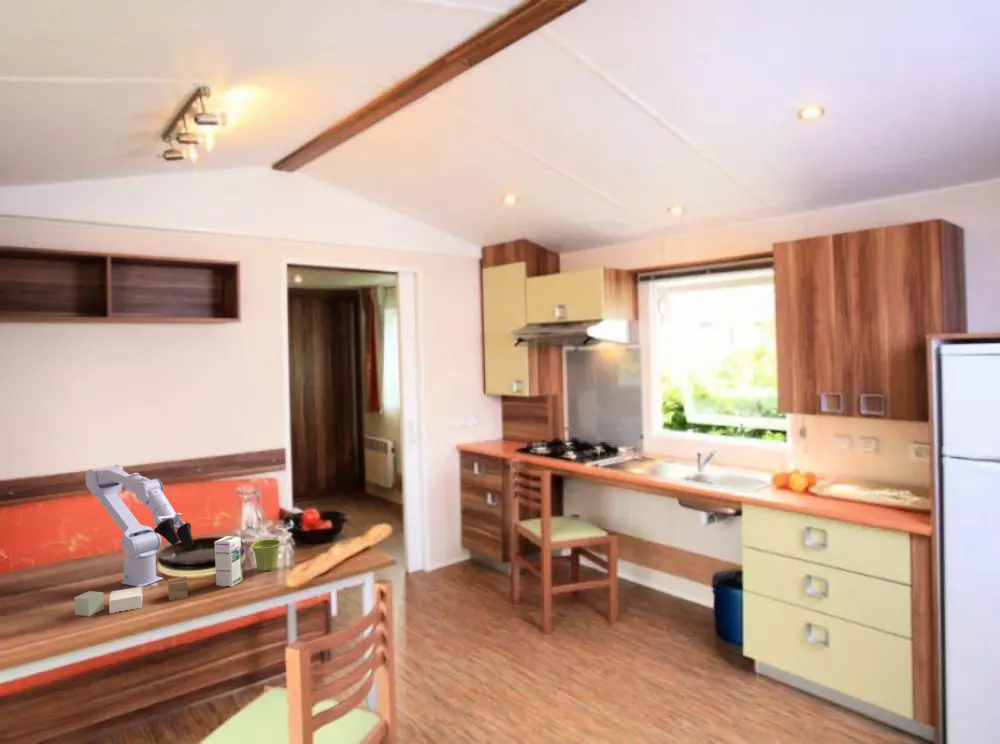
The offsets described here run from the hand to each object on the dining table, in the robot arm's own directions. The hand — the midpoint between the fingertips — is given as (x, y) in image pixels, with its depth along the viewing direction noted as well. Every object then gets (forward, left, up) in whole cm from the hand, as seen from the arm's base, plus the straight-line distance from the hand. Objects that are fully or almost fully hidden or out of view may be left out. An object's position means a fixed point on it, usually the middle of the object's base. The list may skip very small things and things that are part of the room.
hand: (183, 544), depth 197 cm
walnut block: (-1, -2, -16) cm, 16 cm away
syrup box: (+5, +12, -16) cm, 20 cm away
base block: (-9, -13, -16) cm, 22 cm away
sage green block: (-15, -20, -16) cm, 29 cm away
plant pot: (+6, +27, -16) cm, 32 cm away
